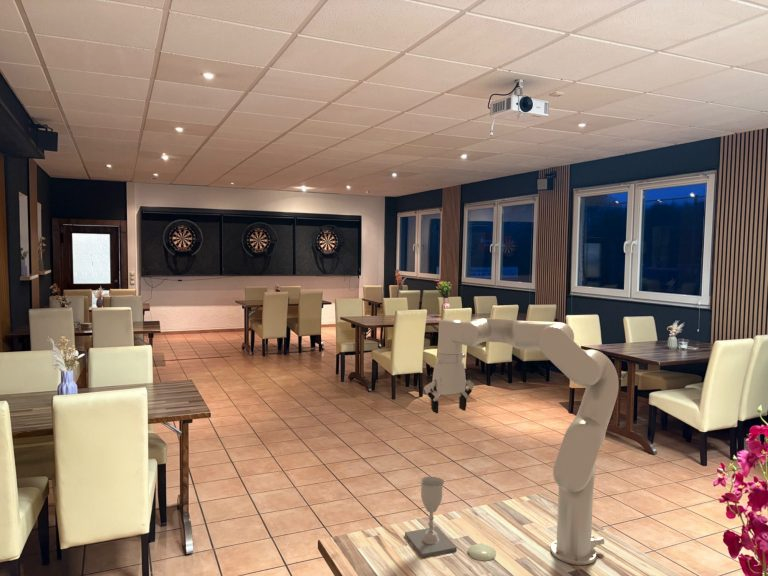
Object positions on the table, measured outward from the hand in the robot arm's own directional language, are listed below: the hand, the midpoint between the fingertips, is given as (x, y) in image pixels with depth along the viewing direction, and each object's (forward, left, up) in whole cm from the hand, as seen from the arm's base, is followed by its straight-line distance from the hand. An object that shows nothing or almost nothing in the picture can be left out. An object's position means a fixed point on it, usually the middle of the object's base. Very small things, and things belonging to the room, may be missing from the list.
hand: (448, 410), depth 182 cm
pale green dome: (-1, +21, -37) cm, 42 cm away
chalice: (+11, +11, -36) cm, 39 cm away
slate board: (+11, +11, -36) cm, 39 cm away
